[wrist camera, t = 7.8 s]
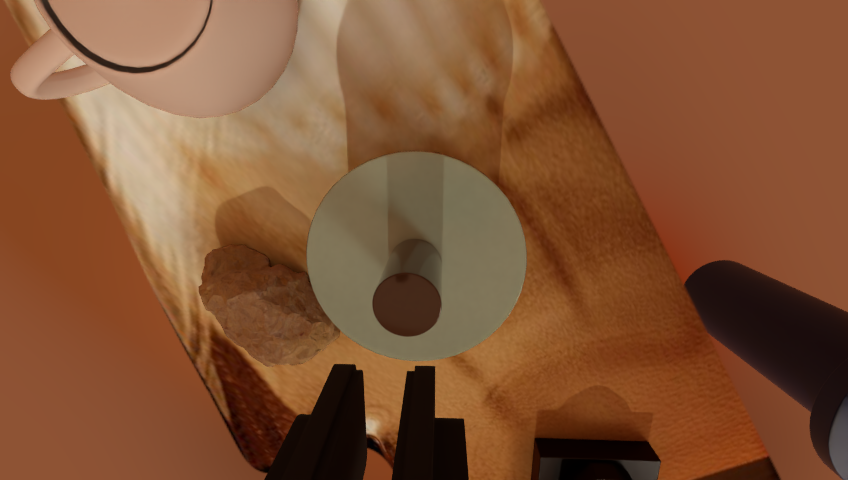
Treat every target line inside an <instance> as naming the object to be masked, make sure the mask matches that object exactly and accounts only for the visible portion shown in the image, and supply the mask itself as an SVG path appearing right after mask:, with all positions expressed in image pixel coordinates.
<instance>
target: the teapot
mask: <svg viewBox="0 0 848 480" xmlns="http://www.w3.org/2000/svg"><path fill="white" fill-rule="evenodd" d="M34 1H35V3H36V6H37V8H38V10H39V12H40V13H41V15H42V16H43V18H44V19H45V21H46V22H47V24H48V25H49V27H50V28H51V29H50V30H48V31H47V32H46V33H45V34H44V35H43V36H42V37H41V38H39V39H38V40H37V41H36V42H35V43H34V44H33V45H32V46H31V47H29V49H27V50H26V51H25V53H23V54H22V55H21V56H20V58H19V59H18V60H17V61H16V62H15V64H14V66H13V67H12V69H11V72H10V73H11V81H12V83H13V84H14V86H15V87H16V88H17V89H18V90H19V91H20V92H21V93H23V94H24V95H26V96H27V97H30V98H35V99H58V98H64V97H70V96H74V95H78V94H82V93H85V92H88V91H91V90H94V89H97V88H100V87H103V86H105V85H107V84H110V83H111V84H112V85H114V86H115V87H117V88H118V89H120V90H121V91H123V92H125V93H127V94H128V95H130V96H132V97H134V98H136V99H137V100H139V101H141V102H143V103H145V104H147V105H149V106H152V107H155V108H157V109H160V110H163V111H166V112H169V113H172V114H175V115H182V116H189V117H196V118H206V117H219V116H224V115H227V114H230V113H234V112H237V111H240V110H242V109H244V108H246V107H248V106H249V105H251V104H253V103H255V102H256V101H258V100H259V99H260V98H261V97H262V96H263V95H265V94H266V93H267V92H268V91H269V90H270V89H271V88H272V87H273V86H274V85H275V83H276V82H277V80H278V79H279V77H280V76H281V75H282V73H283V72H284V70H285V68H286V66H287V63H288V61H289V59H290V56H291V54H292V52H293V47H294V43H295V38H296V34H297V22H298V4H297V0H34ZM74 54H75V55H76V56H77V57H79V58H80V59H81V60H82V61H83V62H85V63H86V65H83V66H80V67H76V68H73V69H69V70H64V71H60V72H54V71H55V70H56V69H58V68H59V67H60V66H61V65H62V64H63V63H64V62H66V61H67V60H68V59H69V58H70V57H72V56H73V55H74ZM53 72H54V73H53Z"/></svg>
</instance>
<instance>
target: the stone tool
mask: <svg viewBox="0 0 848 480" xmlns="http://www.w3.org/2000/svg"><path fill="white" fill-rule="evenodd" d="M201 279H202V285H201V286H199V294H200V296H201V299H202V302H203V304H204V306H205V308H206V310H208V311H211V312H212V313H213V314H214V315H215V317H216V319H217V320H218V322H219V323H220V324H221V326H222V328H223V330H224V332H225V334H226V336H227V337H228V338H230V339H231V340H232V341H233V342H235V343H236V344H237V345H239V346H241V347H244V348H245V349H246V350H247V351H248V353H249V354H250V355H251V356H252V357H253V358H255V359H256V360H258V361H260V362H261V363H263V364H264V365H265V366H267V367H273V366H274V365H276V364H281V365H286V364H290V365H297V364H303V363H305V362H307V361H309V360H310V359H312V358H313V357H314V356H315V355H316V354H317V353H318V352H320V351H321V350H322V351H323V350H324V349H325V348H326V347H327V345H329V344H330V343H331V342H333V341H334V340H336V339H337V338H338V337H339V335H340V329H339V328H338V327H337V326H336V325H335V324H334V323H333V322H332V321H331V320H330V318H329V317H328V316H327V315H326V313H325V312H324V310H323V309H322V307H321V305H320V304H319V302H318V300H317V298H316V295H315V293H314V291H313V288H312V285H311V284H310V283H308V276H307V274H306V273H305V272H301V273H295V272H293V271H292V270H291V269H289V268H288V267H286V266H284V265H275V266H273V267H269V259H268V258H267V256H266V255H263V254H260V253H258V252H257V251H256V250H253V249H249V248H248V247H246V246H245V245H237V246H236V245H229V246H226V247H222V248H219V249H214V250H212V251H211V252H210V253H208V254H207V255H206V257H205V266H204V269H203V273H202V278H201Z"/></svg>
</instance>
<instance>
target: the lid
mask: <svg viewBox="0 0 848 480" xmlns="http://www.w3.org/2000/svg"><path fill="white" fill-rule="evenodd" d="M526 266H527V251H526V243H525V237H524V233H523V230H522V226H521V223H520V221H519V219H518V216H517V214H516V212H515V210H514V208H513V207H512V205H511V203H510V202H509V200H508V199H507V197H506V196H505V195H504V194H503V192H502V191H501V190H500V189H499V188H498V186H497V185H496V184H495V183H493V182H492V181H491V180H490V179H489V178H488V177H487V176H486V175H485V174H483V173H482V172H480V171H479V170H477V169H476V168H474V167H473V166H471V165H469V164H467V163H465V162H463V161H461V160H459V159H456V158H453V157H450V156H447V155H444V154H439V153H434V152H428V151H402V152H396V153H391V154H386V155H383V156H380V157H377V158H374V159H371V160H369V161H367V162H365V163H363V164H361V165H359V166H357V167H356V168H354V169H353V170H351V171H350V172H348V173H347V174H346V175H344V176H343V177H342V178H341V179H340V180H339V181H338V182H337V183H336V184H335V185H333V187H332V188H331V189H330V190H329V192H328V193H327V194H326V195H325V197H324V198H323V200H322V202H321V203H320V205H319V207H318V208H317V210H316V213H315V215H314V218H313V220H312V222H311V226H310V230H309V234H308V241H307V267H308V274H309V278H310V282H311V285H312V288H313V291H314V293H315V295H316V298H317V300H318V302H319V304H320V305H321V307H322V309H323V310H324V312H325V313H326V315H327V316H328V317H329V318H330V320H331V321H332V322H333V323H334V324H335V325H336V326H337V327H338V328H339V329H340V330H341V331H342V332H343V333H344V334H345V335H346V336H348V337H349V338H350V339H352V340H353V341H354V342H356V343H358V344H359V345H361V346H363V347H364V348H366V349H369V350H371V351H373V352H375V353H377V354H381V355H384V356H387V357H390V358H395V359H400V360H409V361H430V360H437V359H443V358H447V357H450V356H454V355H457V354H459V353H462V352H464V351H467V350H469V349H471V348H472V347H474V346H476V345H478V344H480V343H481V342H482V341H484V340H485V339H486V338H488V337H489V336H490V335H491V334H492V333H493V332H495V331H496V330H497V329H498V328H499V327H500V326H501V324H502V323H503V322H504V321H505V319H506V318H507V317H508V316H509V314H510V312H511V311H512V309H513V308H514V306H515V304H516V302H517V300H518V297H519V295H520V293H521V290H522V286H523V283H524V279H525V273H526Z"/></svg>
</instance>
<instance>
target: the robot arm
mask: <svg viewBox="0 0 848 480" xmlns="http://www.w3.org/2000/svg"><path fill="white" fill-rule="evenodd" d="M366 460H367V440H366V420H365V401H364V381H363V371H362V370H356V366H355V365H354V364H334V366H333V368H332V370H331V372H330V374H329V376H328V378H327V381H326V383H325V385H324V387H323V389H322V392H321V394H320V396H319V398H318V400H317V402H316V405H315V407H314V409H313V411H312V413H311V415H306V414H300V415H298V416H297V417H296V419H295V420H294V422H293V424H292V426H291V428H290V430H289V432H288V434H287V436H286V438H285V440H284V442H283V444H282V446H281V448H280V450H279V452H278V454H277V456H276V458H275V460H274V462H273V464H272V466H271V468H270V470H269V472H268V474H267V476H266V478H265V480H363V476H364V471H365V467H366ZM392 480H469V478H468V465H467V452H466V439H465V426H464V419H456V418H435V366H415V371H407V376H406V383H405V390H404V397H403V404H402V411H401V418H400V425H399V432H398V439H397V446H396V453H395V460H394V467H393V474H392Z"/></svg>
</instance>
